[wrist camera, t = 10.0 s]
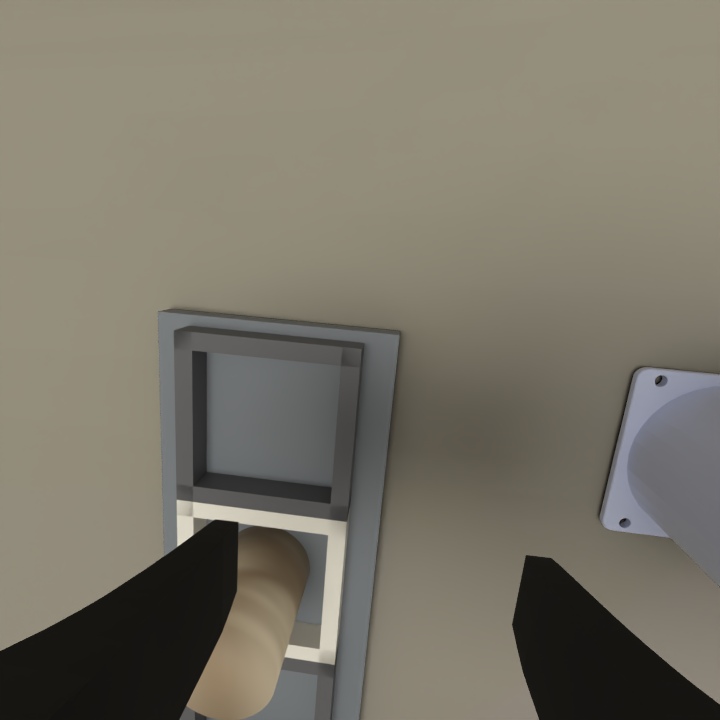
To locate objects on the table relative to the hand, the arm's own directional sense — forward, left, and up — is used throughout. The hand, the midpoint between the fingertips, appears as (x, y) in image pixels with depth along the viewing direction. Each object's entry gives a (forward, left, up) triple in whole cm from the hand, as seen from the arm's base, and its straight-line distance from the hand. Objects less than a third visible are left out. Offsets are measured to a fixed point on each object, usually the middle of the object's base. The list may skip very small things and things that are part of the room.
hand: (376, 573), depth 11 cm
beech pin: (+5, +8, -9) cm, 13 cm away
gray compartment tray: (+5, +8, -10) cm, 14 cm away
